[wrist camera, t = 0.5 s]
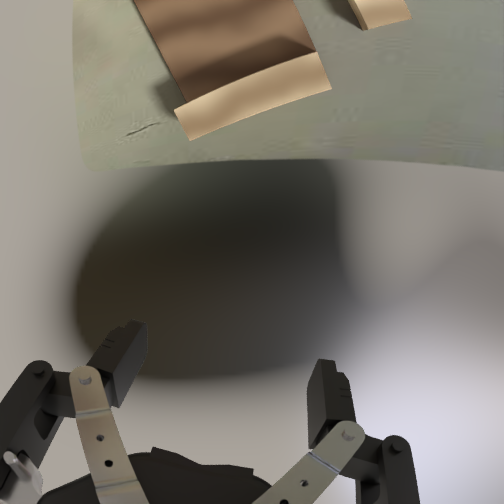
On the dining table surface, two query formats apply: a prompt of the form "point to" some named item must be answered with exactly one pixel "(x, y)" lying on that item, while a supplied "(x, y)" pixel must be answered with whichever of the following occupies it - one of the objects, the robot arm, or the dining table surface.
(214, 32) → the brown wooden cradle
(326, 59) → the dining table surface
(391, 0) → the oak plank
